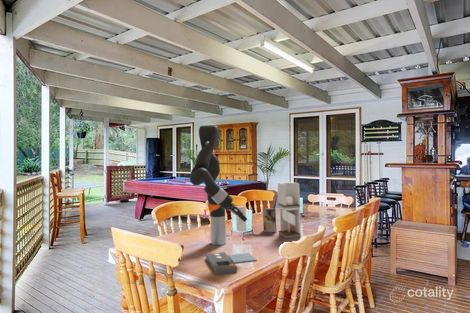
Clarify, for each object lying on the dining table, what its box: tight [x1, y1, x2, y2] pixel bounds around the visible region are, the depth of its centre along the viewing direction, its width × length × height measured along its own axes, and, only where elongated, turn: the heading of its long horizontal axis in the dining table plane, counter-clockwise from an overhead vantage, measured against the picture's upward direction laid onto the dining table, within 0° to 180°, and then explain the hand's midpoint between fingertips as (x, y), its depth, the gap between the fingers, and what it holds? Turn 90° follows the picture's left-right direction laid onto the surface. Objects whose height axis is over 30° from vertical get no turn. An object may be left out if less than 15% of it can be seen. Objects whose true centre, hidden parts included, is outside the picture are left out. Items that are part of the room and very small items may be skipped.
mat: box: [227, 252, 257, 264], centre depth 170 cm, size 12×12×1 cm
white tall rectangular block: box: [235, 205, 247, 232], centre depth 170 cm, size 4×4×12 cm
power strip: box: [205, 252, 238, 275], centre depth 163 cm, size 28×10×3 cm, turn 16°
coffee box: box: [262, 207, 277, 233], centre depth 230 cm, size 9×6×16 cm
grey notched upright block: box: [277, 181, 302, 238], centre depth 217 cm, size 11×11×35 cm
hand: (244, 219), depth 171 cm, fingers closed on white tall rectangular block, 4 cm apart
